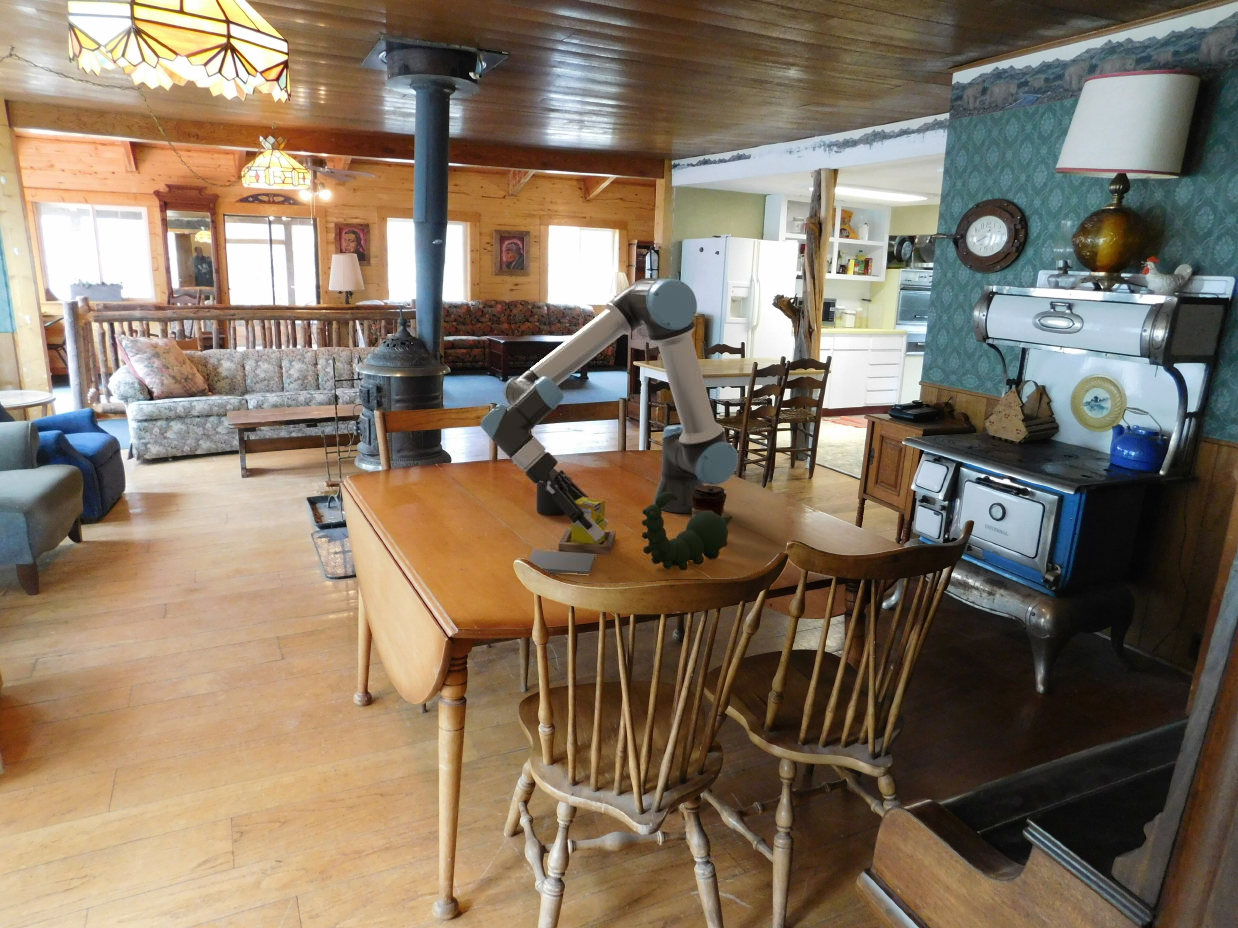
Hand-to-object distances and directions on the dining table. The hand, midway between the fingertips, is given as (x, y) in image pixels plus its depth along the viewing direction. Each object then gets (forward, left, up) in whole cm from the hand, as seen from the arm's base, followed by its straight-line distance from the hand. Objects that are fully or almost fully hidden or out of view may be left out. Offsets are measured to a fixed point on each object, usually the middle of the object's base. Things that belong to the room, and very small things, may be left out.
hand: (602, 531), depth 186 cm
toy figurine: (-21, +8, -4) cm, 22 cm away
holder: (+3, 0, -4) cm, 5 cm away
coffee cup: (-25, -10, -4) cm, 27 cm away
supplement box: (+3, 0, -4) cm, 5 cm away
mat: (+7, +14, -4) cm, 16 cm away
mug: (+15, -25, -4) cm, 30 cm away
